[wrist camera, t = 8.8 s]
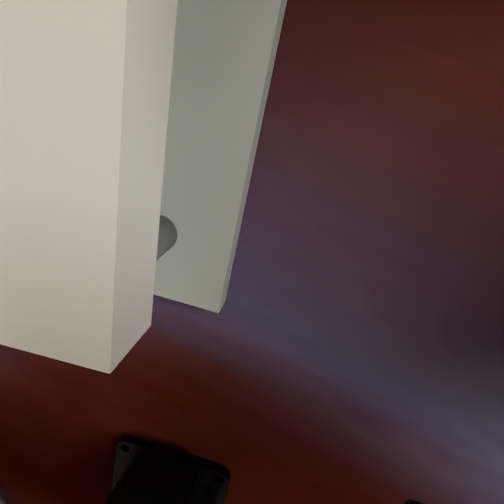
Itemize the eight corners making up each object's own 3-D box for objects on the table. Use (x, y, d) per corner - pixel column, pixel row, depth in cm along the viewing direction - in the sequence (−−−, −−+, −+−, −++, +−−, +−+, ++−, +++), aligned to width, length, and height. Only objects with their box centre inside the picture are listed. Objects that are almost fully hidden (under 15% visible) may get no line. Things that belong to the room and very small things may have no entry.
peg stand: (225, 301, 21) (188, 363, 17) (33, 246, 22) (-53, 289, 18) (324, -183, 15) (311, -315, 10) (43, -226, 16) (-92, -362, 11)
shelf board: (151, 325, 16) (109, 373, 14) (1, 287, 17) (-66, 326, 14) (200, -273, 10) (145, -404, 8) (-32, -288, 11) (-156, -410, 8)
